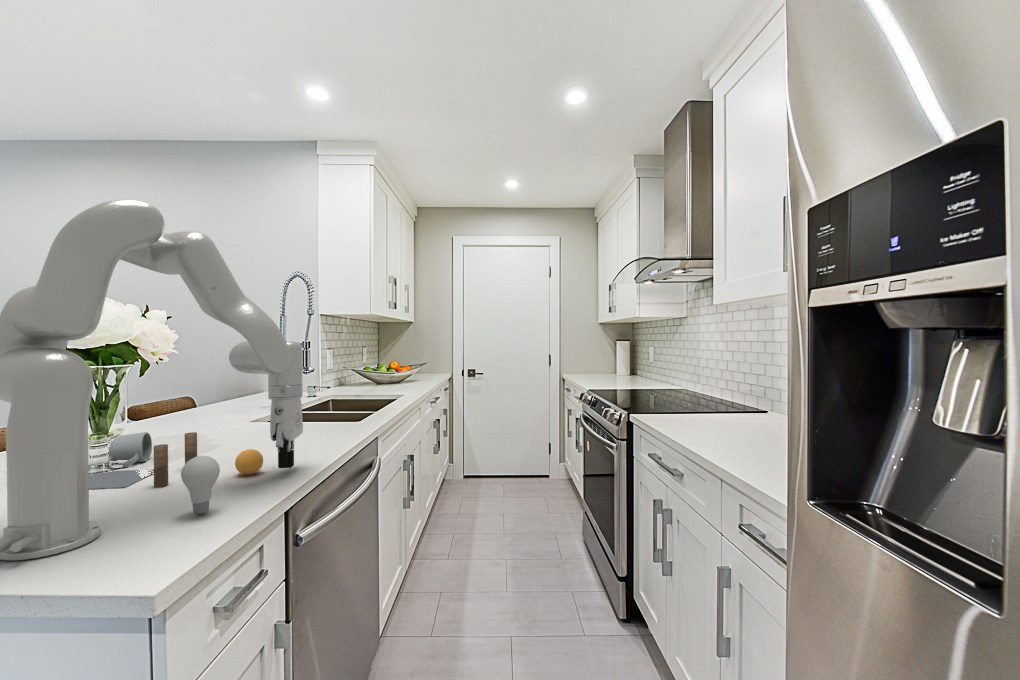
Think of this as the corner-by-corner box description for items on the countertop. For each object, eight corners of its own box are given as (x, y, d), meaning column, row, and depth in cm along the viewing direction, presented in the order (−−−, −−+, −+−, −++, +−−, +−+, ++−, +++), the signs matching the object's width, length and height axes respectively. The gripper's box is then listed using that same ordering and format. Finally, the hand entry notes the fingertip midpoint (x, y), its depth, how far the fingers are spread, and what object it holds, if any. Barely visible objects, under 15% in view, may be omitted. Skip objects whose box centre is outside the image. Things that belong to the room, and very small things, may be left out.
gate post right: (194, 470, 119) (193, 434, 119) (182, 471, 119) (182, 434, 118) (199, 467, 121) (199, 432, 121) (188, 468, 121) (187, 432, 121)
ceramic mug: (116, 460, 129) (115, 431, 128) (153, 457, 132) (152, 429, 131) (98, 471, 119) (97, 440, 119) (138, 468, 122) (137, 438, 121)
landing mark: (125, 487, 106) (125, 487, 106) (53, 491, 103) (53, 490, 103) (161, 469, 119) (161, 469, 119) (98, 472, 117) (98, 471, 117)
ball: (258, 477, 113) (257, 452, 113) (230, 478, 112) (230, 453, 112) (267, 470, 119) (266, 446, 119) (241, 471, 118) (240, 446, 118)
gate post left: (164, 487, 106) (163, 446, 106) (151, 488, 106) (150, 447, 105) (170, 483, 108) (170, 444, 108) (158, 484, 108) (157, 444, 108)
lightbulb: (227, 509, 93) (226, 452, 93) (204, 521, 87) (203, 460, 87) (198, 507, 94) (197, 451, 93) (173, 520, 88) (172, 460, 87)
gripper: (292, 395, 110) (292, 475, 110) (310, 388, 125) (310, 458, 125) (257, 396, 109) (258, 476, 109) (279, 388, 124) (280, 459, 124)
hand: (286, 466), depth 117 cm, fingers closed
